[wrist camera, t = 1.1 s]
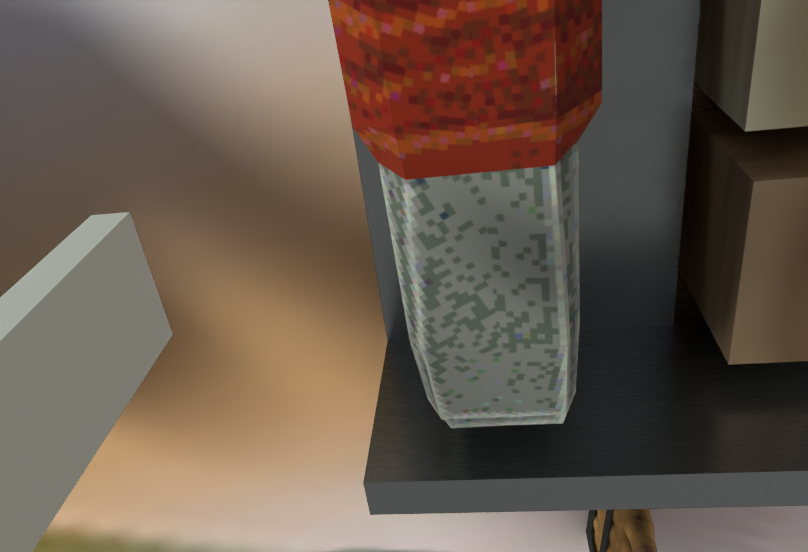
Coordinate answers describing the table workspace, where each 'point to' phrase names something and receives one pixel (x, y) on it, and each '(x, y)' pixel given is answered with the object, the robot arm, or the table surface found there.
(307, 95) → the table surface
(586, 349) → the rack
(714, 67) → the birch offcut
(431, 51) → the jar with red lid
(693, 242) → the walnut offcut
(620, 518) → the ammunition clip
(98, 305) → the robot arm
